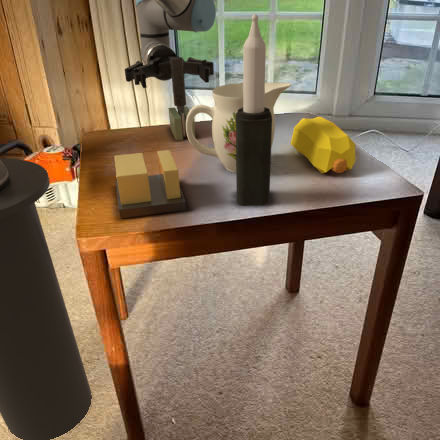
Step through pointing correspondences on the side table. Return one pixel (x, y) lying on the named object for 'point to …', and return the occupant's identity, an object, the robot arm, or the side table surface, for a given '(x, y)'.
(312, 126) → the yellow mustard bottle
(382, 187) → the side table surface
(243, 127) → the candle
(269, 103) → the pitcher
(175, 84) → the knife
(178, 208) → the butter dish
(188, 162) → the side table surface
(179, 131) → the knife stand
